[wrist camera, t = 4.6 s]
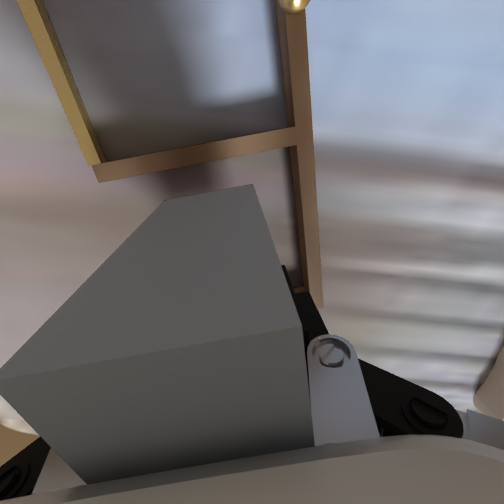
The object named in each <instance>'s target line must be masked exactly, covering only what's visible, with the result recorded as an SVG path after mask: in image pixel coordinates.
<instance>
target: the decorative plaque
mask: <svg viewBox="0 0 504 504" xmlns="http://www.w3.org/2000/svg"><path fill="white" fill-rule="evenodd" d="M474 405H475V407H476V408H477V409H478V410H479V411H480V413H481V414H484V415H487V416H490V417H493V418H497V419H500V420H503V421H504V346H503V348H502V349H501V351H500V353H499V355H498V357H497V360H496V362H495V365H494V367H493V369H492V370H491V372H490V374H489V375H488V377H487V379H486V380H485V382H484V383H483V384H482V386H481V387H480V388H479V389H478V391H477V392H476V393H475V395H474Z"/></svg>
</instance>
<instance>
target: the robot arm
mask: <svg viewBox="0 0 504 504" xmlns="http://www.w3.org/2000/svg"><path fill="white" fill-rule="evenodd" d="M281 267H282V270H283V272H284V275H285V278H286V281H287V284H288V287H289V290H290V293H291V296H292V298H293V301H294V304H295V307H296V310H297V313H298V316H299V319H300V322H301V324H302V331H303V340H304V349H305V359H306V368H307V377H308V386H309V396H310V405H311V413H312V423H313V432H314V442H315V446H314V447H308V448H302V449H296V450H290V451H284V452H277V453H271V454H265V455H259V456H253V457H247V458H241V459H235V460H229V461H223V462H217V463H211V464H205V465H199V466H193V467H187V468H181V469H175V470H170V471H164V472H158V473H152V474H146V475H140V476H134V477H129V478H123V479H117V480H112V481H106V482H100V483H94V484H89V485H87V484H86V483H85V482H84V481H83V480H82V479H81V478H80V477H79V476H78V475H77V474H76V473H75V472H74V471H73V470H72V469H71V468H70V466H69V465H68V464H67V463H66V462H65V461H64V460H63V459H62V458H61V457H60V456H59V455H58V454H57V453H56V452H55V451H54V450H53V449H52V448H51V447H50V446H49V445H48V444H47V443H46V441H45V440H44V439H43V438H42V437H41V436H40V437H39V438H38V439H36V440H35V441H34V442H33V443H31V444H30V445H29V446H27V447H26V448H25V449H23V450H22V451H21V452H19V453H18V454H17V455H15V456H14V457H13V458H11V459H10V460H9V461H8V462H6V463H5V464H4V465H2V466H1V467H0V504H504V421H503V420H500V419H497V418H493V417H490V416H487V415H484V414H481V413H478V412H475V411H472V410H469V409H467V412H466V413H465V412H462V411H459V410H456V409H454V407H453V406H452V405H451V404H450V403H449V402H447V401H446V400H445V399H444V398H442V397H441V396H439V395H437V394H435V393H434V392H432V391H429V390H427V389H425V388H423V387H420V386H418V385H416V384H414V383H412V382H409V381H407V380H405V379H403V378H400V377H398V376H396V375H394V374H391V373H389V372H387V371H385V370H383V369H380V368H378V367H376V366H374V365H371V364H369V363H367V362H365V361H363V360H360V359H358V357H357V354H356V351H355V349H354V347H353V345H352V344H351V343H350V342H349V341H348V340H346V339H344V338H343V337H340V336H337V335H331V334H329V333H328V331H327V329H326V327H325V325H324V322H323V320H322V318H321V316H320V314H319V312H318V309H317V307H316V305H315V303H314V301H313V299H312V296H311V294H310V292H309V291H305V292H299V293H295V292H294V289H293V287H292V284H291V281H290V279H289V276H288V273H287V270H286V268H285V265H281Z"/></svg>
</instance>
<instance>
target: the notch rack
mask: <svg viewBox="0 0 504 504" xmlns="http://www.w3.org/2000/svg"><path fill="white" fill-rule="evenodd" d="M309 1H310V0H275V3H276V13H277V23H278V33H279V43H280V53H281V64H282V74H283V84H284V94H285V104H286V114H287V124H288V127H287V128H282V129H277V130H271V131H266V132H261V133H256V134H250V135H245V136H240V137H235V138H230V139H224V140H219V141H214V142H209V143H203V144H198V145H193V146H188V147H182V148H177V149H172V150H167V151H162V152H156V153H151V154H146V155H141V156H135V157H130V158H125V159H120V160H115V161H109V162H106V159H105V157H104V154H103V152H102V149H101V147H100V144H99V142H98V139H97V137H96V134H95V132H94V129H93V127H92V124H91V122H90V119H89V117H88V114H87V112H86V109H85V107H84V104H83V102H82V99H81V97H80V94H79V92H78V89H77V87H76V84H75V82H74V79H73V77H72V74H71V72H70V69H69V67H68V64H67V62H66V59H65V57H64V54H63V52H62V49H61V47H60V44H59V42H58V39H57V37H56V34H55V32H54V30H53V27H52V25H51V22H50V20H49V17H48V15H47V12H46V10H45V7H44V5H43V2H42V0H17V2H18V5H19V7H20V9H21V11H22V14H23V16H24V18H25V21H26V23H27V25H28V28H29V30H30V32H31V35H32V37H33V39H34V41H35V44H36V46H37V48H38V51H39V53H40V55H41V58H42V60H43V62H44V65H45V67H46V69H47V72H48V74H49V76H50V78H51V81H52V83H53V85H54V88H55V90H56V92H57V95H58V97H59V99H60V102H61V104H62V106H63V108H64V111H65V113H66V115H67V118H68V120H69V122H70V125H71V127H72V129H73V132H74V134H75V136H76V138H77V141H78V143H79V145H80V148H81V150H82V152H83V155H84V157H85V159H86V162H87V164H88V166H89V165H92V168H93V170H94V172H95V175H96V177H97V179H98V182H99V183H101V182H106V181H111V180H116V179H121V178H127V177H132V176H137V175H142V174H148V173H153V172H158V171H163V170H168V169H174V168H179V167H184V166H189V165H194V164H200V163H205V162H210V161H215V160H221V159H226V158H231V157H236V156H241V155H247V154H252V153H257V152H262V151H267V150H273V149H278V148H283V147H288V146H290V154H291V164H292V175H293V185H294V195H295V205H296V215H297V225H298V235H299V245H300V255H301V265H302V275H303V286H302V287H297V288H293V289H294V292H295V293H299V292H305V291H309V292H310V294H311V296H312V299H313V301H314V303H315V305H316V307H317V309H319V308H323V293H322V277H321V260H320V244H319V228H318V211H317V195H316V179H315V162H314V146H313V130H312V113H311V97H310V80H309V64H308V48H307V31H306V15H305V8H306V6H307V5H308V3H309ZM95 164H96V165H95Z"/></svg>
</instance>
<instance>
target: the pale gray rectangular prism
mask: <svg viewBox="0 0 504 504" xmlns="http://www.w3.org/2000/svg"><path fill="white" fill-rule="evenodd" d="M0 395H1V396H2V397H3V398H4V399H5V400H6V401H7V402H8V403H9V404H10V405H11V406H12V407H13V408H14V409H15V410H16V411H17V412H18V413H19V414H20V415H21V416H22V417H23V419H24V420H25V421H26V422H27V423H28V424H29V425H30V426H31V427H32V428H33V429H34V430H35V431H36V432H37V433H38V434H39V435H40V436H41V437H42V438H43V439H44V440H45V441H46V443H47V444H48V445H49V446H50V447H51V448H52V449H53V450H54V451H55V452H56V453H57V454H58V455H59V456H60V457H61V458H62V459H63V460H64V461H65V462H66V463H67V464H68V465H69V466H70V468H71V469H72V470H73V471H74V472H75V473H76V474H77V475H78V476H79V477H80V478H81V479H82V480H83V481H84V482H85V483H86V484H87V485H89V484H94V483H100V482H106V481H112V480H117V479H123V478H129V477H134V476H140V475H146V474H152V473H158V472H164V471H170V470H175V469H181V468H187V467H193V466H199V465H205V464H211V463H217V462H223V461H229V460H235V459H241V458H247V457H253V456H259V455H265V454H271V453H277V452H284V451H290V450H296V449H302V448H308V447H314V446H315V442H314V432H313V423H312V414H311V405H310V396H309V386H308V377H307V368H306V359H305V349H304V340H303V331H302V324H301V322H300V319H299V316H298V313H297V310H296V307H295V304H294V301H293V298H292V296H291V293H290V290H289V287H288V284H287V281H286V278H285V275H284V272H283V270H282V267H281V264H280V261H279V258H278V255H277V252H276V249H275V247H274V244H273V241H272V238H271V235H270V232H269V229H268V226H267V223H266V221H265V218H264V215H263V212H262V209H261V206H260V203H259V200H258V197H257V195H256V192H255V189H254V186H253V184H249V185H244V186H239V187H233V188H228V189H223V190H217V191H212V192H207V193H201V194H196V195H191V196H185V197H180V198H175V199H169V200H164V201H163V202H162V203H161V204H160V206H159V207H158V208H157V209H156V210H155V211H154V212H153V213H152V214H151V215H150V216H149V217H148V218H147V219H146V220H145V221H144V222H143V223H142V224H141V225H140V226H139V227H138V228H137V229H136V230H135V231H134V232H133V233H132V234H131V235H130V236H129V237H128V238H127V239H126V240H125V241H124V242H123V243H122V244H121V245H120V246H119V248H118V249H117V250H116V251H115V252H114V253H113V254H112V255H111V256H110V257H109V258H108V259H107V260H106V261H105V262H104V263H103V264H102V265H101V266H100V267H99V268H98V269H97V270H96V271H95V272H94V273H93V274H92V275H91V276H90V277H89V278H88V279H87V280H86V281H85V282H84V283H83V284H82V285H81V286H80V287H79V288H78V290H77V291H76V292H75V293H74V294H73V295H72V296H71V297H70V298H69V299H68V300H67V301H66V302H65V303H64V304H63V305H62V306H61V307H60V308H59V309H58V310H57V311H56V312H55V313H54V314H53V315H52V316H51V317H50V318H49V319H48V320H47V321H46V322H45V323H44V324H43V325H42V326H41V327H40V328H39V329H38V331H37V332H36V333H35V334H34V335H33V336H32V337H31V338H30V339H29V340H28V341H27V342H26V343H25V344H24V345H23V346H22V347H21V348H20V349H19V350H18V351H17V352H16V353H15V354H14V355H13V356H12V357H11V358H10V359H9V360H8V361H7V362H6V363H5V364H4V365H3V366H2V367H1V368H0Z"/></svg>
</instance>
